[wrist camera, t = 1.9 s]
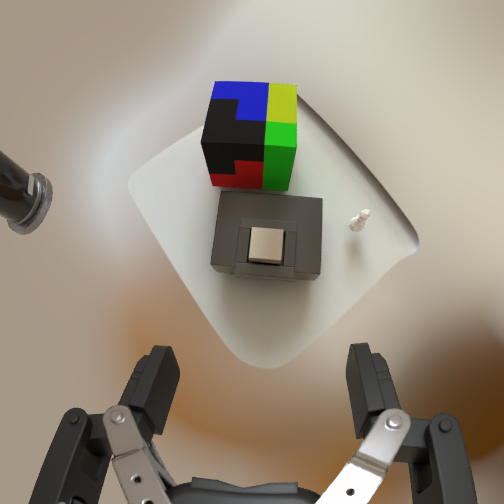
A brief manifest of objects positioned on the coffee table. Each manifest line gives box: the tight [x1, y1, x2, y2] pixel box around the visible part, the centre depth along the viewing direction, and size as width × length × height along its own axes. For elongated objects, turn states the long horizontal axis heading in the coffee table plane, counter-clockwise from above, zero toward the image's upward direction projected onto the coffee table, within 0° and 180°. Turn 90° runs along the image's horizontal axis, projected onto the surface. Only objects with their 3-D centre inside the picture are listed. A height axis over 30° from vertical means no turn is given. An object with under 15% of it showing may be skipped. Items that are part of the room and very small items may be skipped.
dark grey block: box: [211, 191, 322, 281], centre depth 34 cm, size 12×10×6 cm
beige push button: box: [249, 227, 284, 264], centre depth 30 cm, size 3×3×2 cm
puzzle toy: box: [201, 81, 297, 191], centre depth 35 cm, size 10×10×10 cm
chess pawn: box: [349, 209, 370, 232], centre depth 35 cm, size 3×2×4 cm
